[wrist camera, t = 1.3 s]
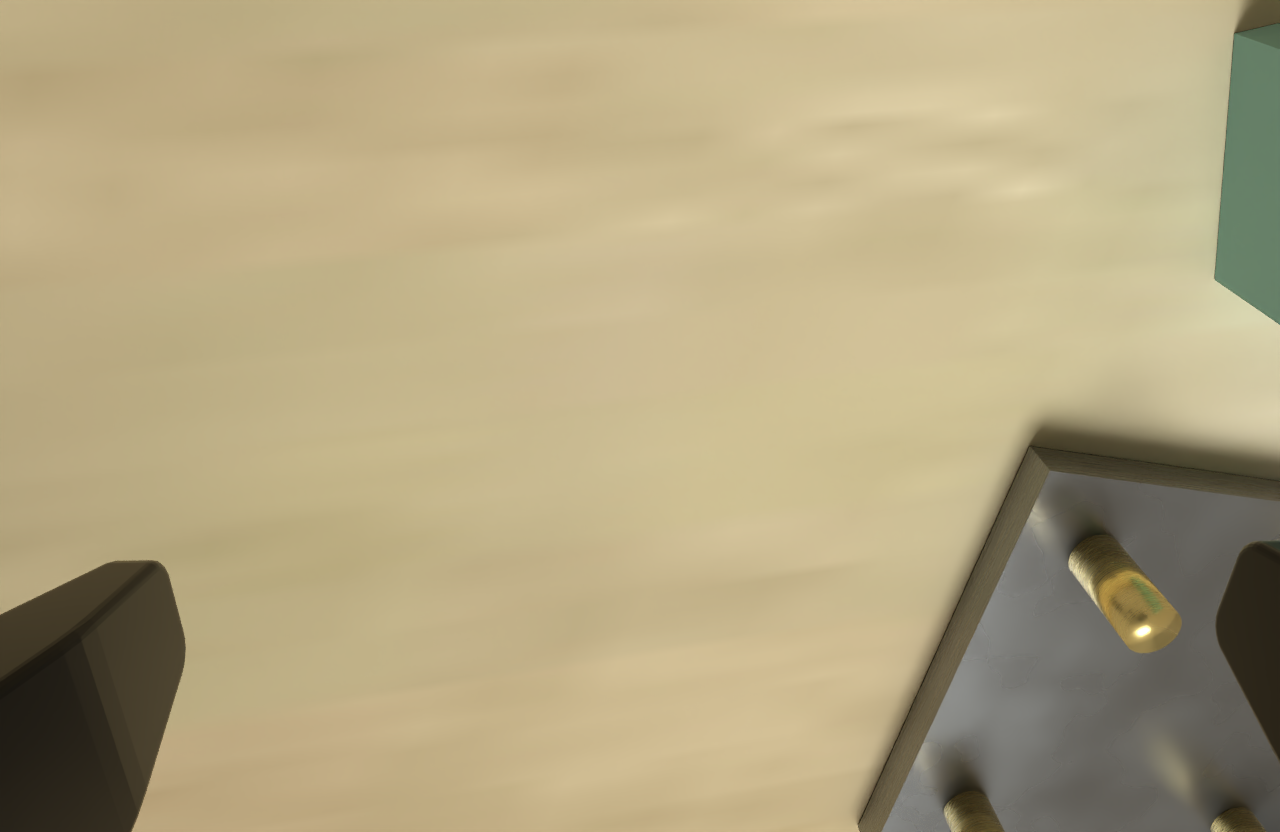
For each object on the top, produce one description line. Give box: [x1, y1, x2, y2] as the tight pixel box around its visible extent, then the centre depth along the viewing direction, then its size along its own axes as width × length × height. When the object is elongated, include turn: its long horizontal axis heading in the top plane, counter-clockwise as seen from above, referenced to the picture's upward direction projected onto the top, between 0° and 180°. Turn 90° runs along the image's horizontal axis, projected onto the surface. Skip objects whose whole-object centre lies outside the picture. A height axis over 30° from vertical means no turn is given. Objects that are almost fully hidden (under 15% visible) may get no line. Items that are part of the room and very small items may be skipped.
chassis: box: [858, 446, 1280, 832], centre depth 27 cm, size 12×12×4 cm
